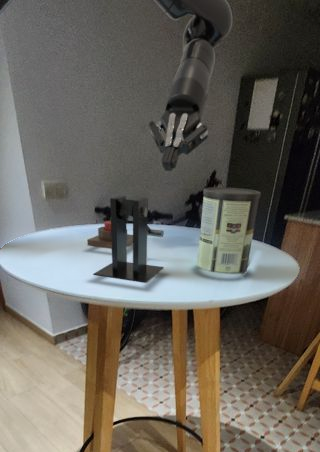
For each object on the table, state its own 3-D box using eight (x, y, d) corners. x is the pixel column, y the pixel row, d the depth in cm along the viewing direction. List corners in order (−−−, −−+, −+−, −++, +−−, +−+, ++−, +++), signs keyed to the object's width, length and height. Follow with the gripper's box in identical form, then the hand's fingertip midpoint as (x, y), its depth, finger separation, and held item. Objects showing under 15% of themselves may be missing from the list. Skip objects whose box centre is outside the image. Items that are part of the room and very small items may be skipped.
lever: (134, 237, 73) (136, 225, 73) (162, 241, 72) (164, 228, 72) (108, 213, 61) (111, 197, 61) (142, 216, 60) (144, 201, 59)
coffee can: (225, 261, 80) (236, 186, 71) (257, 275, 72) (273, 193, 64) (185, 266, 75) (192, 186, 67) (215, 281, 68) (227, 194, 60)
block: (87, 250, 82) (86, 230, 80) (106, 241, 90) (106, 223, 88) (120, 254, 81) (120, 234, 78) (136, 245, 88) (136, 227, 86)
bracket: (116, 266, 73) (114, 192, 65) (163, 273, 71) (167, 197, 63) (93, 280, 65) (88, 198, 58) (145, 288, 63) (147, 204, 55)
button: (102, 231, 82) (101, 222, 81) (108, 228, 85) (108, 220, 84) (116, 233, 81) (116, 224, 80) (123, 230, 84) (122, 221, 83)
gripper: (154, 75, 74) (132, 150, 72) (219, 75, 71) (197, 153, 69) (161, 111, 81) (141, 179, 79) (220, 113, 78) (200, 184, 76)
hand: (167, 167), depth 74 cm, fingers closed
